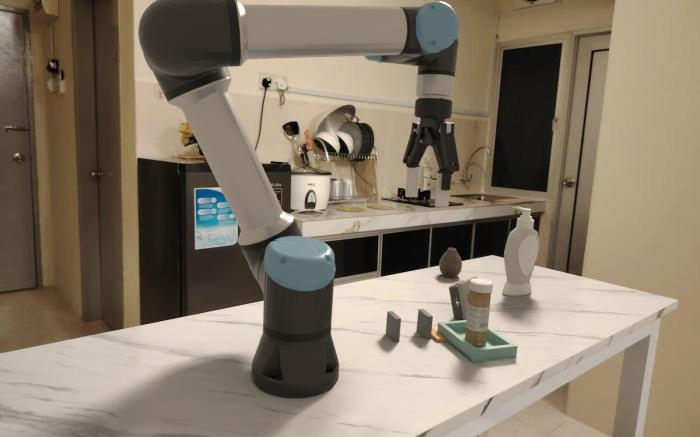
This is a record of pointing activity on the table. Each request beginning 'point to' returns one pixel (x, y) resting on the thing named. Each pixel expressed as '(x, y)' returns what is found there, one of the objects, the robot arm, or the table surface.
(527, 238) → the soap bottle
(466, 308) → the electrical switch
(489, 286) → the sprinkles bottle
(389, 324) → the grey and orange blocks
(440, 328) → the parts tray
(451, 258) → the vase
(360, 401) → the table surface
